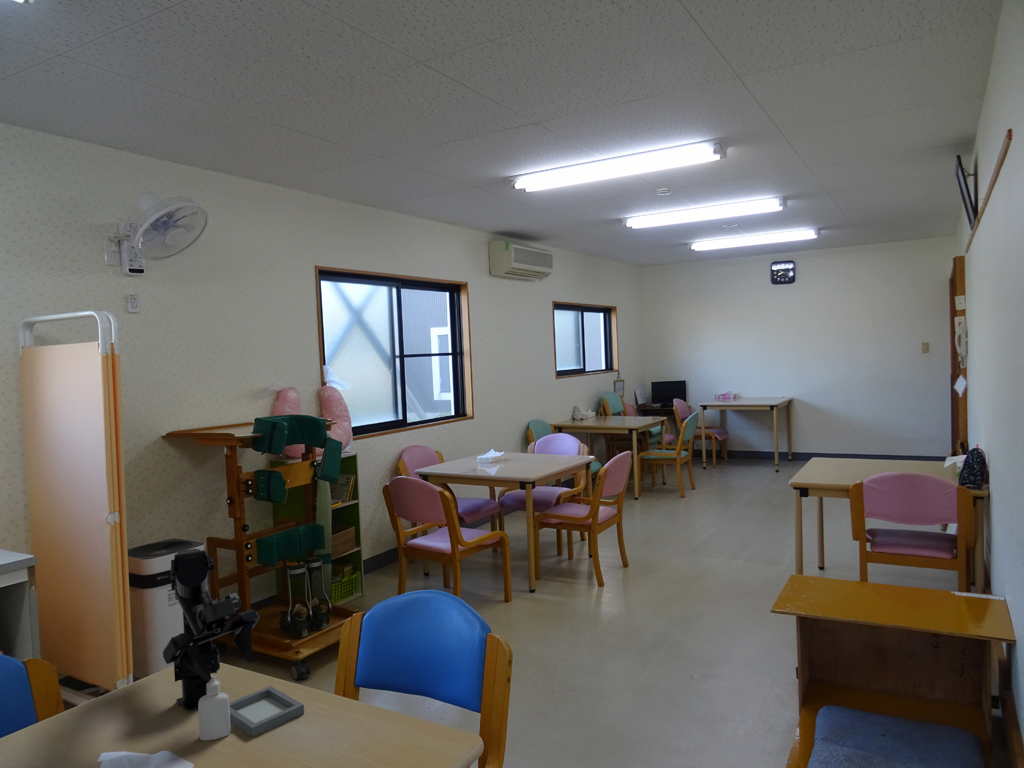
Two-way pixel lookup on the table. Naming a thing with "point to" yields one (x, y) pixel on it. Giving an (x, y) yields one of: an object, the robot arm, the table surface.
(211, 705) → the eye dropper bottle
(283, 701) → the gray rectangular tray
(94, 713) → the table surface
